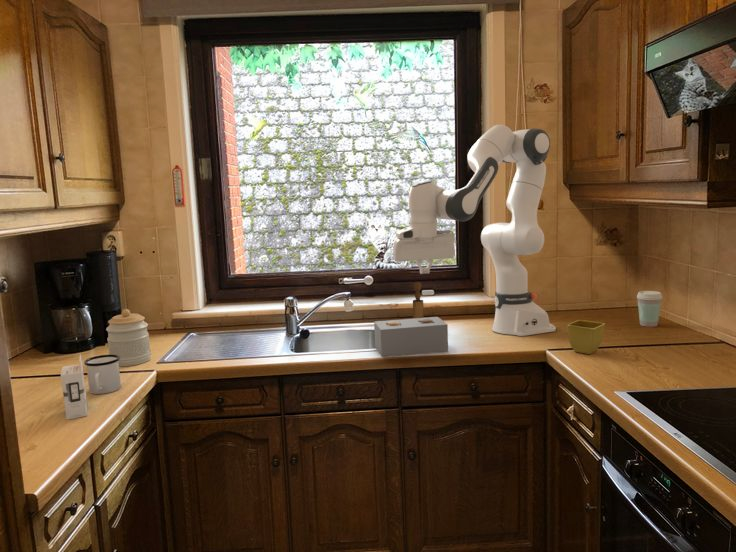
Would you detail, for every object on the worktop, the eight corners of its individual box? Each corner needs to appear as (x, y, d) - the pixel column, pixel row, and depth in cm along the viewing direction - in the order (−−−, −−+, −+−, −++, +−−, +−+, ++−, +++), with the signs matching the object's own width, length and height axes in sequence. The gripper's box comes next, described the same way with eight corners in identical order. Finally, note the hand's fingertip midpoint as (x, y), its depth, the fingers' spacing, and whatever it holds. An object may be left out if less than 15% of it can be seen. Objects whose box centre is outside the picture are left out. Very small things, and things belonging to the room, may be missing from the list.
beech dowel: (399, 346, 206) (398, 321, 205) (401, 349, 202) (401, 323, 201) (387, 347, 206) (386, 322, 204) (389, 350, 202) (388, 324, 200)
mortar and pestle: (427, 331, 228) (426, 283, 226) (410, 332, 228) (408, 284, 226) (426, 327, 235) (425, 280, 232) (409, 327, 235) (408, 281, 232)
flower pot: (605, 350, 194) (605, 322, 193) (593, 357, 188) (594, 328, 187) (578, 346, 200) (578, 319, 199) (566, 352, 194) (566, 324, 193)
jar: (147, 365, 199) (142, 311, 197) (105, 368, 197) (99, 314, 195) (154, 354, 212) (149, 304, 209) (114, 357, 210) (109, 306, 207)
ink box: (66, 409, 161) (60, 355, 159) (87, 406, 163) (81, 352, 161) (65, 420, 154) (58, 363, 152) (87, 416, 156) (81, 360, 153)
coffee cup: (642, 321, 230) (642, 289, 228) (665, 324, 224) (666, 291, 222) (631, 325, 225) (632, 293, 223) (655, 328, 218) (656, 295, 217)
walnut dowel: (431, 344, 208) (430, 318, 206) (434, 347, 204) (433, 321, 203) (419, 345, 207) (418, 319, 206) (422, 348, 203) (421, 322, 202)
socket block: (438, 342, 212) (437, 316, 211) (448, 351, 201) (447, 324, 199) (375, 347, 209) (374, 321, 208) (381, 357, 197) (380, 329, 196)
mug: (92, 385, 180) (89, 355, 179) (126, 382, 182) (123, 353, 180) (80, 399, 169) (76, 367, 167) (116, 396, 170) (113, 364, 169)
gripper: (451, 228, 205) (452, 269, 207) (391, 232, 202) (392, 274, 204) (457, 230, 199) (458, 272, 201) (395, 233, 195) (396, 276, 198)
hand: (424, 273), depth 202 cm, fingers closed
